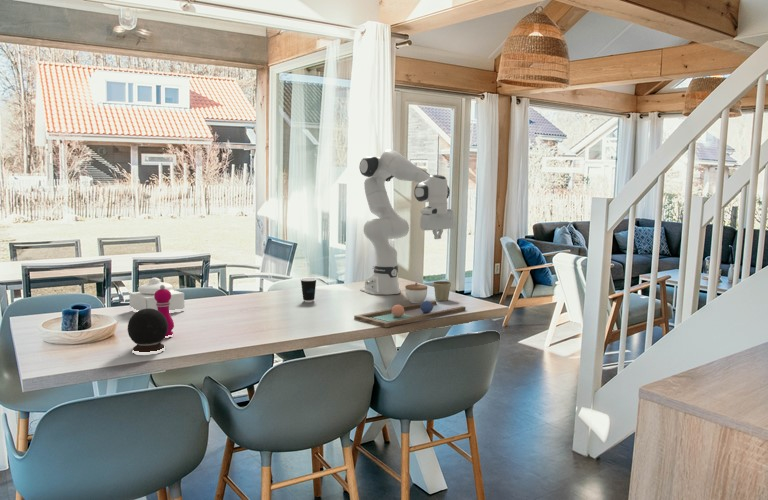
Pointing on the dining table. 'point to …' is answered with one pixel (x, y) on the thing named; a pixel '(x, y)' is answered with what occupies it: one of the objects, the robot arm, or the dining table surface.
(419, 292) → the lidded jar
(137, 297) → the butter dish
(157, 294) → the pepper mill
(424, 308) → the blue ball
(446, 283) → the flower pot
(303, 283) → the dixie cup
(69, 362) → the dining table surface
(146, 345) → the black ball on stand
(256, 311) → the dining table surface
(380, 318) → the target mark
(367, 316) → the guard rails
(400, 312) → the coral ball
